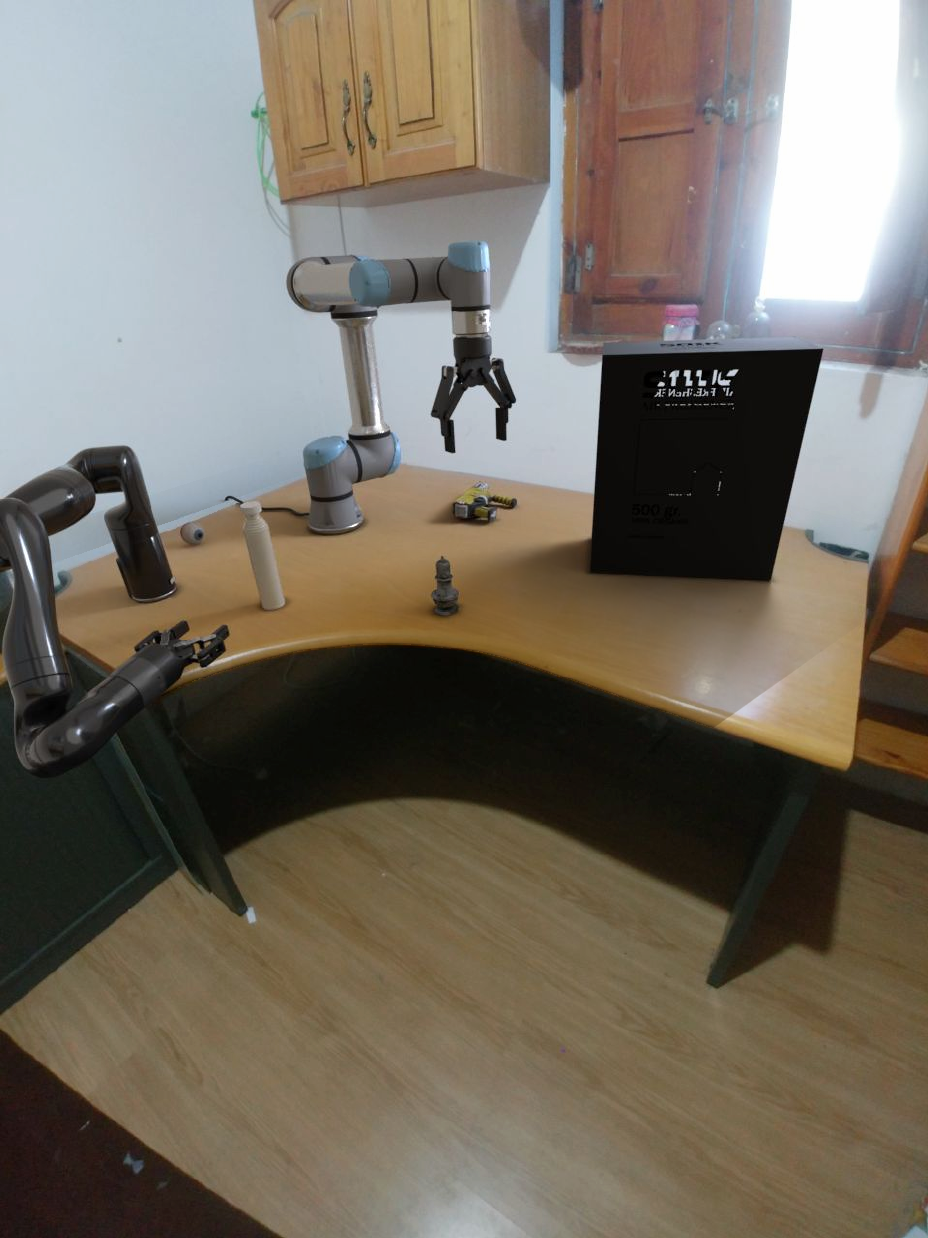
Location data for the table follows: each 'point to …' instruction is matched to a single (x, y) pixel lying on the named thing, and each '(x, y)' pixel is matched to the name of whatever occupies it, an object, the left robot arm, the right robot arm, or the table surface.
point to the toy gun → (479, 503)
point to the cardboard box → (698, 455)
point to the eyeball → (192, 533)
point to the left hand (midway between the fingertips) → (206, 626)
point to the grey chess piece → (444, 590)
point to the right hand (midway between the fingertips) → (476, 445)
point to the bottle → (263, 562)
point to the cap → (250, 508)
